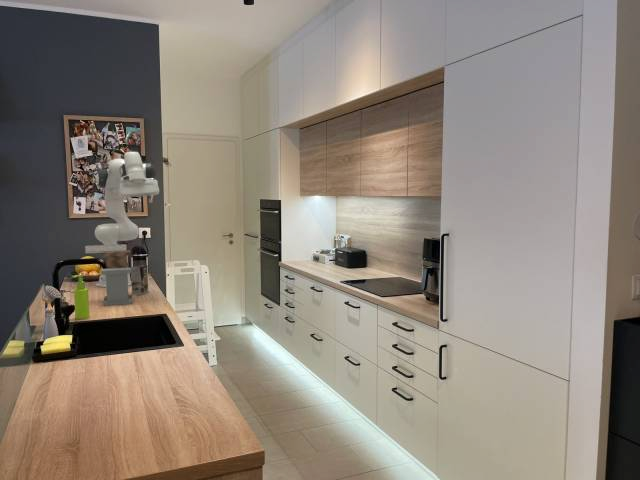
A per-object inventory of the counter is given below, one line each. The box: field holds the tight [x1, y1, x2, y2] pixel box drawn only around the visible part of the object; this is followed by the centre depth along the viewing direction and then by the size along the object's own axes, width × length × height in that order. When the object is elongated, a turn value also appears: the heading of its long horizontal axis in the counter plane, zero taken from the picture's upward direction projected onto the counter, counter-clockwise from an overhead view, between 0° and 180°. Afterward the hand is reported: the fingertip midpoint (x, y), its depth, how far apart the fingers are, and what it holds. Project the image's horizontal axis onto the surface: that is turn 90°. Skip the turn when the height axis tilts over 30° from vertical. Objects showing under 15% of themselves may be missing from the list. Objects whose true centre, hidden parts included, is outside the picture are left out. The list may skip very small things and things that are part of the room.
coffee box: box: [130, 264, 149, 296], centre depth 286 cm, size 9×6×16 cm
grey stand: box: [100, 267, 133, 307], centre depth 260 cm, size 14×8×18 cm, turn 110°
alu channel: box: [84, 243, 128, 254], centre depth 267 cm, size 20×4×4 cm, turn 110°
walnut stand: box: [101, 249, 133, 300], centre depth 270 cm, size 14×8×26 cm, turn 110°
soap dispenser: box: [71, 274, 90, 320], centre depth 229 cm, size 6×7×20 cm
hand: (141, 203), depth 264 cm, fingers open, 8 cm apart
